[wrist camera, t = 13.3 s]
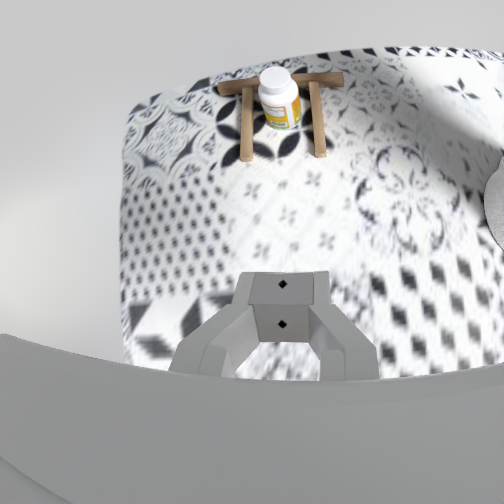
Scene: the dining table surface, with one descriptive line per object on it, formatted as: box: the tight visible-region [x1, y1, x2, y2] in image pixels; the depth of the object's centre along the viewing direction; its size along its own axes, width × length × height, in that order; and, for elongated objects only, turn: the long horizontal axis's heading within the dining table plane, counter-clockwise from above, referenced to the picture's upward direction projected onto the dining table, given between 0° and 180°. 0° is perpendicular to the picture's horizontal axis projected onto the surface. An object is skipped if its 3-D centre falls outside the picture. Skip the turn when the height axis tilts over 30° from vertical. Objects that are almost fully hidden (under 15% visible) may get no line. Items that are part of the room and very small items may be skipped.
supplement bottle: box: [258, 66, 302, 130], centre depth 39 cm, size 5×5×10 cm
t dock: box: [218, 72, 344, 162], centre depth 43 cm, size 20×14×2 cm
